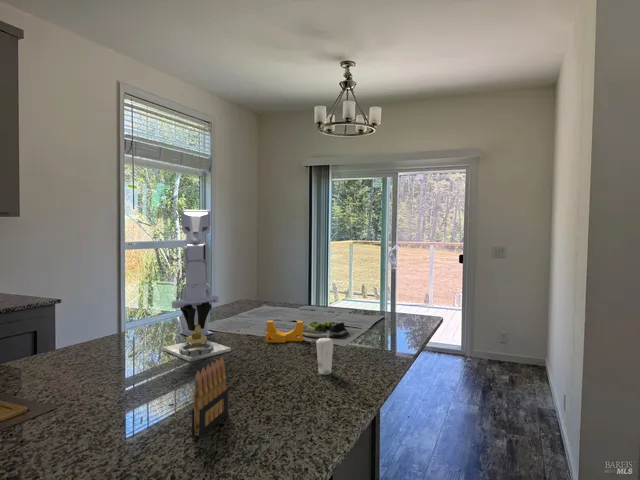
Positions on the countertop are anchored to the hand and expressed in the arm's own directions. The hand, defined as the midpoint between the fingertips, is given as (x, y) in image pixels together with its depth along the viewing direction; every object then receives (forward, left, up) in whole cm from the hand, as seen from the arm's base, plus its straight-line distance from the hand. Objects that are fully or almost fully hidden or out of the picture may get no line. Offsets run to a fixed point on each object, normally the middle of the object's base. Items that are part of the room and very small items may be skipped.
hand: (196, 329), depth 130 cm
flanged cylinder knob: (0, 0, -4) cm, 4 cm away
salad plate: (+10, +46, -8) cm, 47 cm away
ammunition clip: (+43, -22, -8) cm, 50 cm away
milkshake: (+39, +15, -8) cm, 43 cm away
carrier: (-3, +2, -7) cm, 8 cm away
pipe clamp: (+8, +28, -8) cm, 30 cm away
